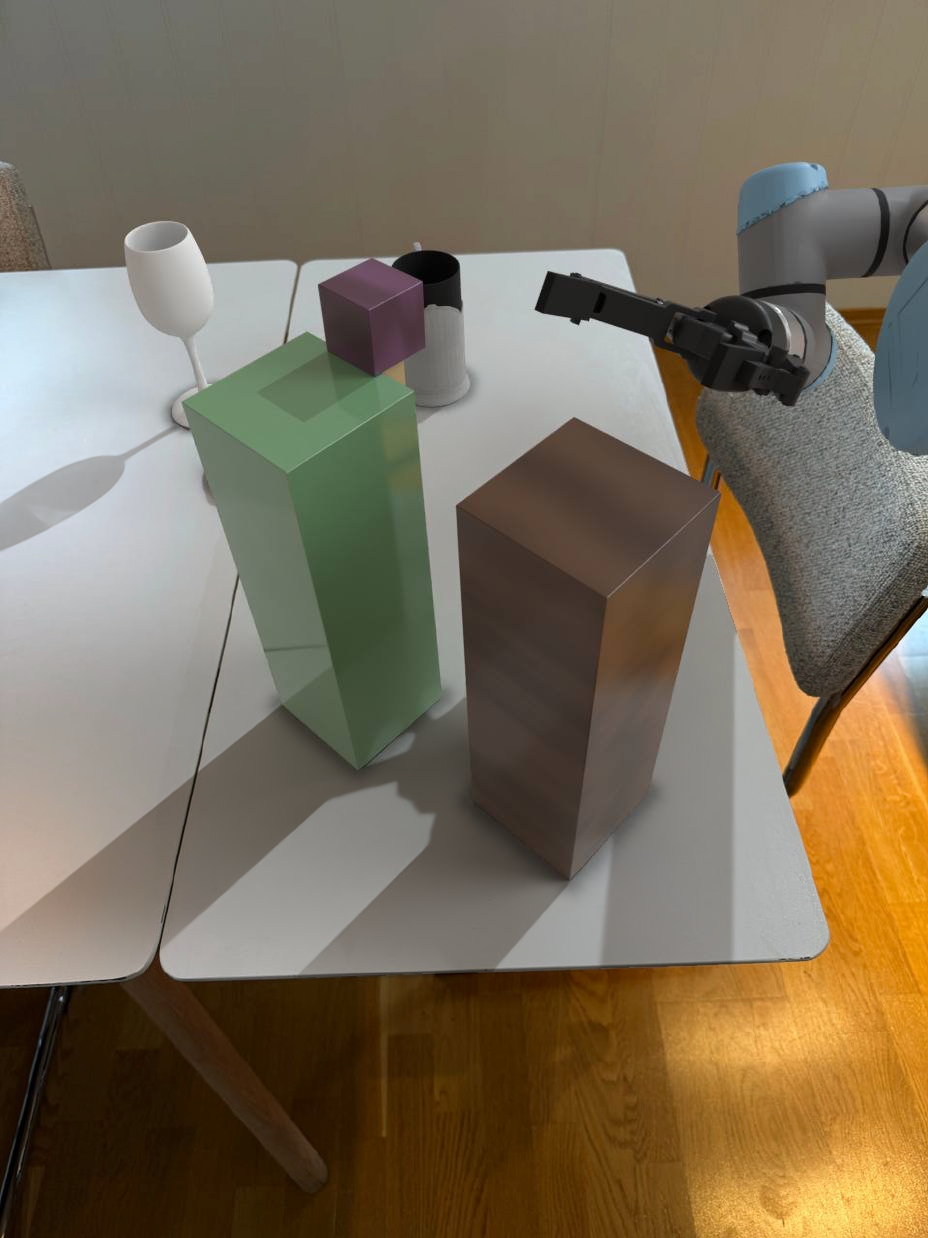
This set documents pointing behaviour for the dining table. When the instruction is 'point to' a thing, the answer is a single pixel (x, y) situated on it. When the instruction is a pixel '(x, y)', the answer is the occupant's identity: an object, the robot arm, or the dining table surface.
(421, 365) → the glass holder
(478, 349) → the dining table surface
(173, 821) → the dining table surface
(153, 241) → the wineglass
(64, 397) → the dining table surface
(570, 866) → the stand
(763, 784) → the dining table surface
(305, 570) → the green stand
